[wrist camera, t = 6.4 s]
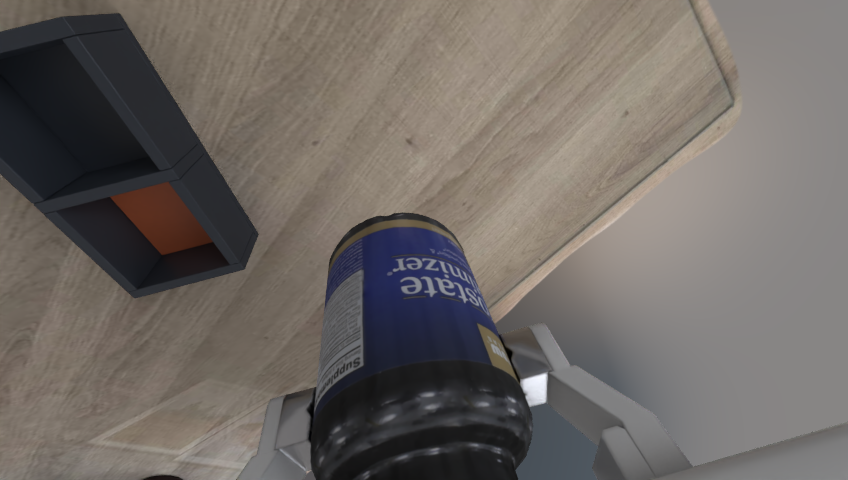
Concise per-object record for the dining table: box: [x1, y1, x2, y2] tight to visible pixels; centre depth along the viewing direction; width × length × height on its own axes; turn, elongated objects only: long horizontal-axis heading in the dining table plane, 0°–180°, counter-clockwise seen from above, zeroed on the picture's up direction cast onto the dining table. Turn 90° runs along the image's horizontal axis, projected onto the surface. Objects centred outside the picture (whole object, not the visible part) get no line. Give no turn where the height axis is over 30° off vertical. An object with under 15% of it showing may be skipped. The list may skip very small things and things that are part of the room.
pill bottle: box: [310, 213, 533, 480], centre depth 11 cm, size 6×6×11 cm
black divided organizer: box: [0, 13, 259, 298], centre depth 24 cm, size 17×9×5 cm, turn 11°
